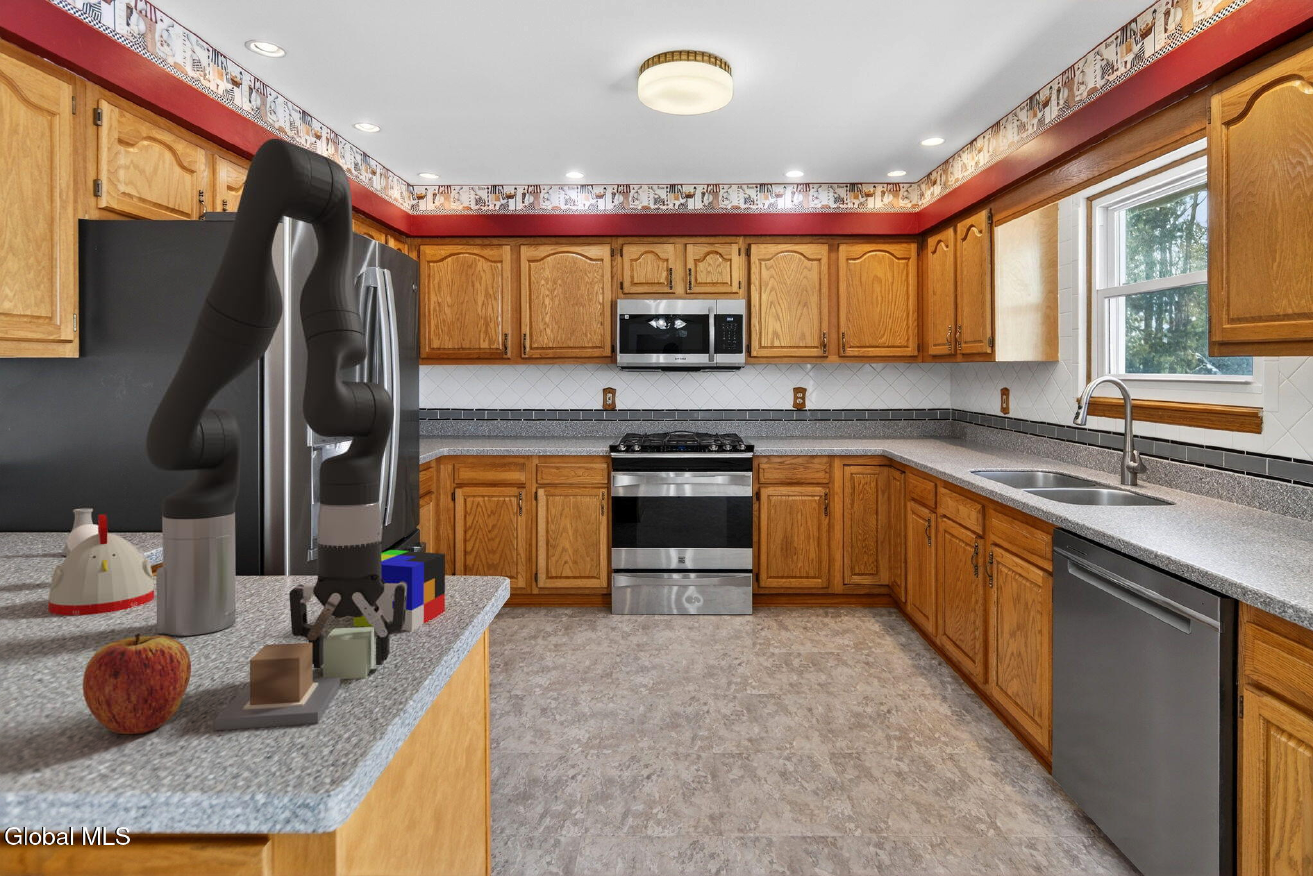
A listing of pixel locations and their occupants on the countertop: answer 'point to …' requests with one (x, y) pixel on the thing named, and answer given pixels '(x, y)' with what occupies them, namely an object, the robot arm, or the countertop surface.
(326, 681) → the build board
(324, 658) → the sage block
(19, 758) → the countertop surface
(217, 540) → the robot arm
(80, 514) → the flask
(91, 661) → the apple
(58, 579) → the kitchen timer
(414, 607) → the puzzle toy
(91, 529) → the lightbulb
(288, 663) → the walnut block
